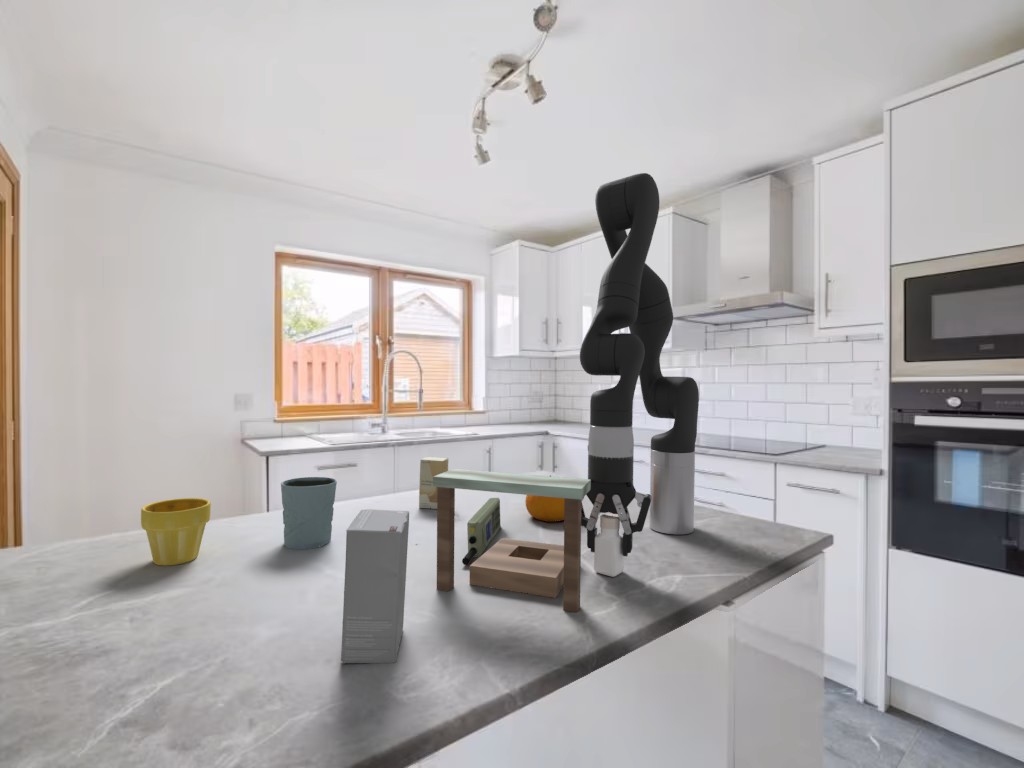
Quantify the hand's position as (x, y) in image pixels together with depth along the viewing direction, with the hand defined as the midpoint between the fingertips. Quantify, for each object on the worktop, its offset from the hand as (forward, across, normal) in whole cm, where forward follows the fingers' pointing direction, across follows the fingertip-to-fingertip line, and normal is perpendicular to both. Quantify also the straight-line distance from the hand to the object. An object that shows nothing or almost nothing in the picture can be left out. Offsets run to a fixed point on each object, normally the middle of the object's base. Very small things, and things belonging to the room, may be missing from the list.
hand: (609, 552), depth 87 cm
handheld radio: (+4, +26, -6) cm, 27 cm away
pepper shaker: (+4, 0, 0) cm, 4 cm away
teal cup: (+4, +58, +5) cm, 58 cm away
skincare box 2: (+4, +48, -28) cm, 56 cm away
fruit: (+4, +18, -29) cm, 34 cm away
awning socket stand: (+3, +13, +8) cm, 15 cm away
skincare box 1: (+4, +23, +34) cm, 41 cm away
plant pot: (+4, +73, +21) cm, 76 cm away
